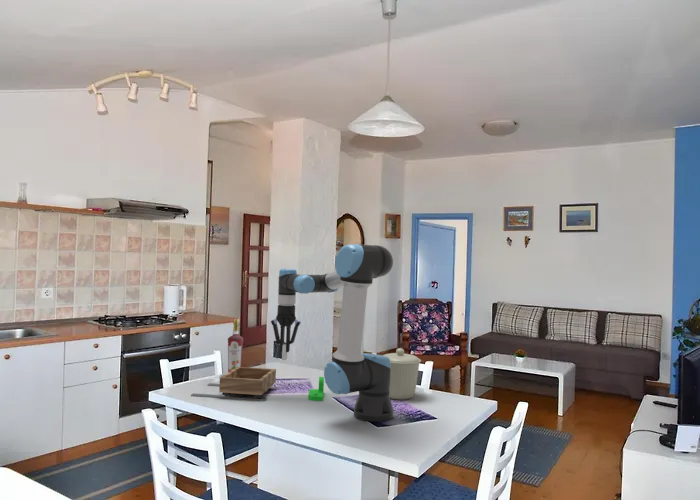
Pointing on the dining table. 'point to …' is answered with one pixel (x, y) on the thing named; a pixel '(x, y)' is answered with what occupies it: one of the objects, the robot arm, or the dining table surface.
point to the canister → (403, 374)
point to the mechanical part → (317, 391)
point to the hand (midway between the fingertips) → (284, 359)
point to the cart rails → (231, 396)
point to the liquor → (235, 347)
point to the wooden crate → (247, 381)
